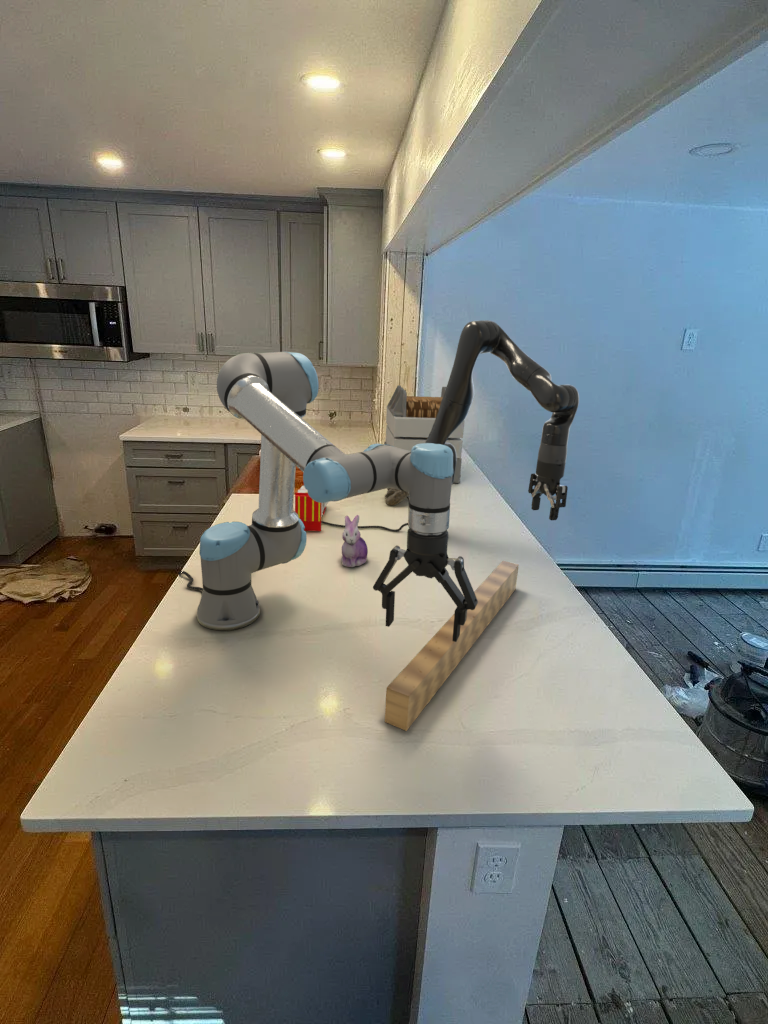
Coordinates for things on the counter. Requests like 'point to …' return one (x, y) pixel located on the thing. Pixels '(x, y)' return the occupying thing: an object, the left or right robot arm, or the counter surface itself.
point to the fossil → (395, 496)
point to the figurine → (353, 544)
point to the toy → (309, 510)
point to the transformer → (417, 423)
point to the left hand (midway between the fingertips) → (422, 630)
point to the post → (446, 650)
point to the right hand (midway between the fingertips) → (543, 514)
